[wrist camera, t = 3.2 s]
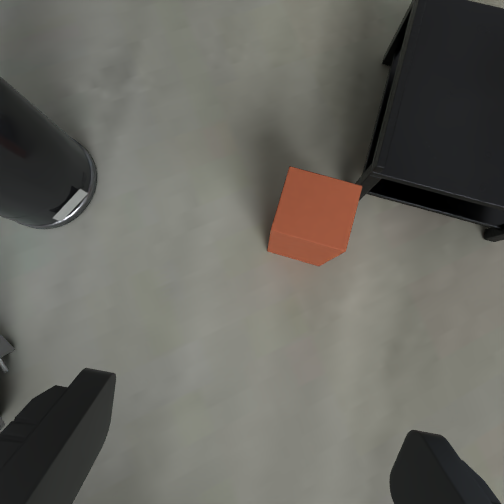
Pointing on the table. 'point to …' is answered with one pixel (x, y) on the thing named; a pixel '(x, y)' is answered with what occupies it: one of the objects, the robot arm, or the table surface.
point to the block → (313, 217)
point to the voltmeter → (3, 347)
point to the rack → (443, 115)
